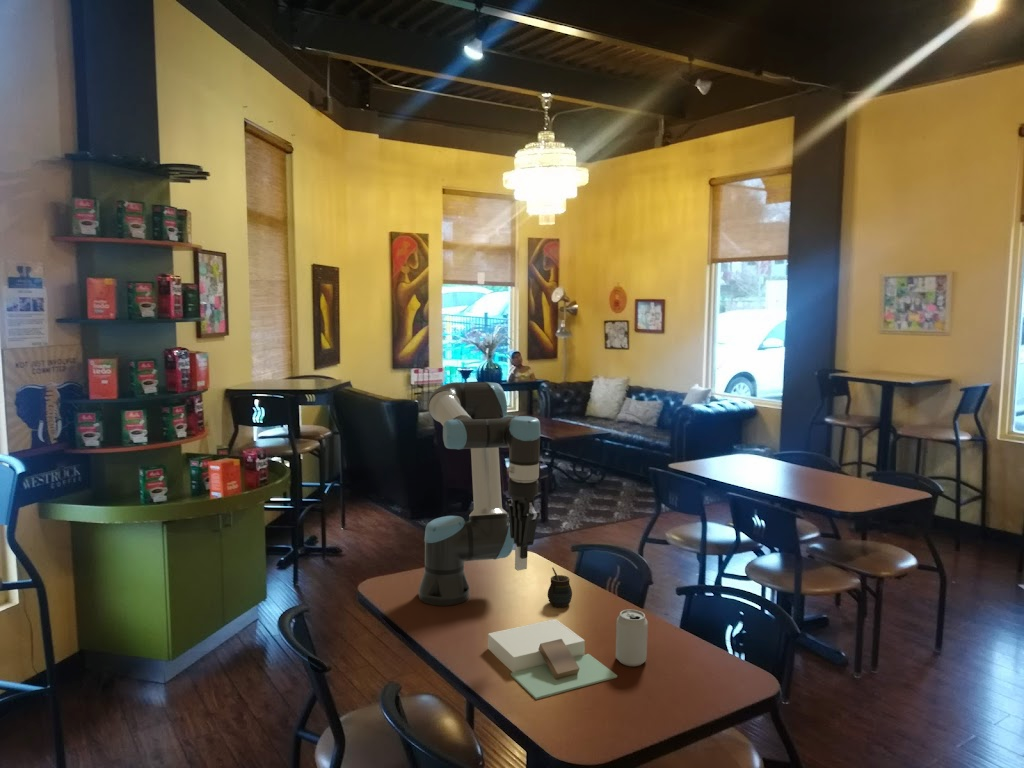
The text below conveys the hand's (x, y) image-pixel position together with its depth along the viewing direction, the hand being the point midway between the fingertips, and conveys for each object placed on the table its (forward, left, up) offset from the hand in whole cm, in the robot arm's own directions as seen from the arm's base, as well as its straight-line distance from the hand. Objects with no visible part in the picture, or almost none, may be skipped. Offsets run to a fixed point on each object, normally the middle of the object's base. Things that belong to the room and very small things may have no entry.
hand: (520, 568), depth 183 cm
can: (+20, +21, -20) cm, 35 cm away
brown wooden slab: (+16, +2, -18) cm, 24 cm away
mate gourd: (-17, +23, -20) cm, 35 cm away
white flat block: (+6, +2, -20) cm, 21 cm away
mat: (+19, +2, -20) cm, 28 cm away
